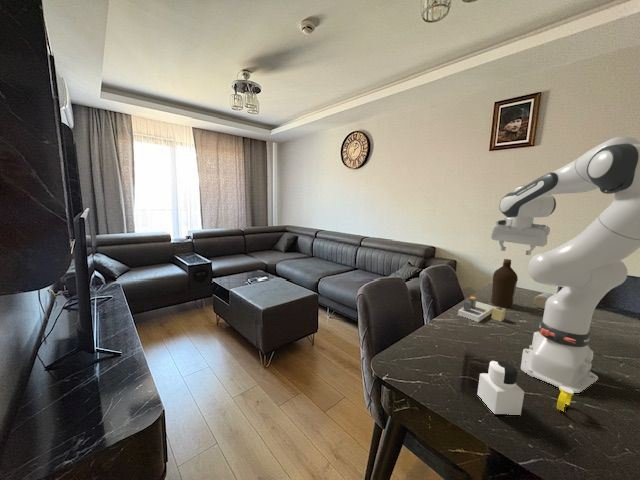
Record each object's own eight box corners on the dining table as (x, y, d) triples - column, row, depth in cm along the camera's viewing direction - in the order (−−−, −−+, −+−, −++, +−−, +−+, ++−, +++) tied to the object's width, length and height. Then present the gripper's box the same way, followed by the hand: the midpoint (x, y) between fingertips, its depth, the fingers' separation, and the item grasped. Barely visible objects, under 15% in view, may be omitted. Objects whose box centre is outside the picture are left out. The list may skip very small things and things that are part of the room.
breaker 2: (472, 308, 124) (473, 298, 124) (468, 306, 126) (469, 297, 125) (475, 306, 126) (476, 297, 126) (471, 305, 128) (472, 296, 127)
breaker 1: (467, 310, 121) (468, 302, 120) (463, 309, 123) (464, 301, 122) (470, 309, 123) (471, 301, 122) (466, 307, 125) (467, 300, 124)
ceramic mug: (531, 306, 136) (533, 292, 134) (538, 303, 139) (541, 290, 138) (556, 314, 126) (559, 300, 125) (563, 311, 130) (566, 297, 129)
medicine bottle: (500, 395, 72) (506, 356, 70) (521, 416, 65) (528, 374, 63) (476, 395, 72) (481, 356, 70) (494, 416, 65) (500, 374, 63)
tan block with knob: (501, 321, 118) (502, 310, 117) (491, 318, 121) (492, 307, 120) (504, 319, 120) (505, 308, 119) (494, 316, 123) (495, 305, 122)
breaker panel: (478, 322, 116) (478, 316, 116) (457, 315, 123) (458, 309, 123) (494, 311, 128) (494, 306, 128) (474, 305, 135) (475, 300, 135)
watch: (559, 402, 70) (563, 382, 70) (572, 409, 68) (577, 388, 67) (551, 409, 67) (556, 389, 66) (565, 417, 65) (570, 396, 64)
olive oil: (492, 306, 135) (498, 260, 131) (487, 299, 145) (493, 256, 141) (516, 309, 131) (523, 262, 127) (510, 302, 140) (516, 258, 137)
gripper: (552, 224, 107) (546, 256, 109) (497, 219, 123) (492, 247, 125) (548, 225, 103) (542, 258, 105) (491, 220, 119) (487, 249, 122)
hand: (515, 252), depth 116 cm, fingers open, 8 cm apart
